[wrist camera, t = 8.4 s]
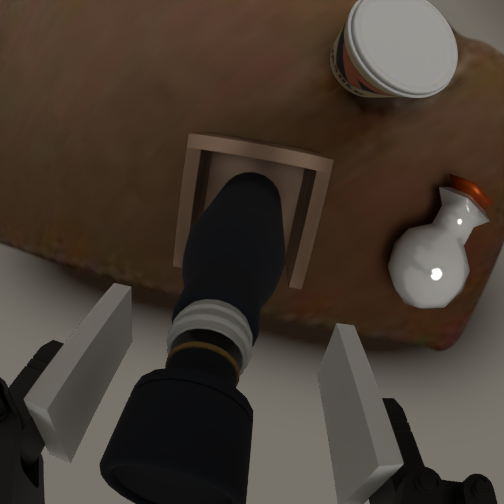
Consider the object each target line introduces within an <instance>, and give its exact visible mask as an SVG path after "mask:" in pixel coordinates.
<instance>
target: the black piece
mask: <svg viewBox="0 0 504 504" xmlns="http://www.w3.org/2000/svg"><path fill="white" fill-rule="evenodd" d="M284 265H285V240H284V229H283V218H282V207H281V198H280V195H279V191H278V189H277V187H276V186H275V184H274V183H273V182H272V181H271V180H270V179H268V178H267V177H266V176H264V175H261V174H258V173H255V172H244V173H241V174H238V175H235V176H234V177H233V178H231V179H230V180H228V182H227V183H226V184H225V185H224V187H223V188H222V189H221V190H220V192H219V193H218V194H217V196H216V197H215V198H214V200H213V201H212V202H211V203H210V205H209V206H208V207H207V209H206V210H205V211H204V213H203V214H202V215H201V217H200V218H199V219H198V221H197V222H196V224H195V225H194V226H193V228H192V229H191V231H190V232H189V235H188V239H187V243H186V247H185V251H184V255H183V262H182V268H183V279H184V289H183V291H182V293H181V295H180V297H179V299H178V301H177V303H176V305H175V308H174V311H173V315H172V327H171V329H170V330H169V333H168V337H167V346H168V348H167V352H168V358H167V361H166V366H165V367H166V368H165V369H157V370H154V371H152V372H150V373H148V374H146V375H144V376H142V377H141V378H140V380H139V381H138V382H137V383H136V385H135V386H134V388H133V390H132V393H131V395H130V397H129V399H128V401H127V403H126V406H125V408H124V410H123V412H122V414H121V417H120V419H119V421H118V423H117V426H116V428H115V430H114V432H113V434H112V436H111V439H110V441H109V443H108V446H107V448H106V450H105V452H104V455H103V457H102V459H101V462H100V471H101V475H102V477H103V478H104V480H105V481H106V482H107V483H108V485H109V486H110V487H111V488H113V489H114V490H115V491H117V492H118V493H119V494H120V495H122V496H123V497H125V498H127V499H128V500H130V501H132V502H134V503H135V504H246V496H247V485H248V473H249V462H250V451H251V439H252V427H253V410H252V408H251V406H250V404H249V402H248V400H247V398H246V397H245V396H244V395H243V394H242V393H241V392H240V391H239V390H237V389H236V386H237V384H238V382H239V376H240V375H241V374H242V373H243V371H244V369H245V368H246V367H247V365H248V363H249V361H250V359H251V348H252V347H253V346H254V343H255V341H256V339H257V337H258V333H259V321H260V309H261V308H262V307H263V305H264V304H265V303H266V302H267V301H268V299H269V298H270V297H271V296H272V294H273V292H274V290H275V288H276V286H277V283H278V281H279V278H280V276H281V274H282V271H283V268H284Z"/></svg>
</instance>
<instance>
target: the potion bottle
mask: <svg viewBox="0 0 504 504" xmlns="http://www.w3.org/2000/svg"><path fill="white" fill-rule="evenodd" d="M449 175H450V180H451V185H450V187H439V190H440V196H441V202H442V207H441V209H440V210H439V212H438V214H437V216H436V218H435V219H434V221H433V223H432V224H427V225H422V226H417V227H413V228H409V229H408V230H407V231H406V232H405V233H404V234H403V235H402V236H401V237H400V238H399V239H398V240H397V241H395V242H394V246H393V249H392V253H391V257H390V261H389V264H388V269H389V273H390V277H391V282H392V286H393V287H394V288H395V290H396V291H397V293H398V294H399V295H400V297H401V298H402V300H403V301H404V303H406V304H409V305H412V306H416V307H419V308H422V309H433V308H441V307H445V306H446V305H447V304H449V303H450V302H451V301H452V300H453V299H454V298H455V297H456V296H457V295H458V294H460V293H461V292H462V290H463V288H464V285H465V282H466V279H467V276H468V273H469V266H468V261H467V257H466V253H465V248H464V244H465V242H466V240H467V238H468V237H469V235H470V233H471V231H472V229H473V227H475V226H478V225H480V224H483V223H486V222H488V221H489V219H488V217H487V215H486V213H485V211H484V209H485V208H486V207H487V206H489V205H492V204H494V203H493V202H492V201H491V200H490V198H489V197H488V196H487V195H486V194H485V193H484V192H483V191H482V190H481V189H480V188H479V187H478V185H477V184H476V183H474V182H471V181H468V180H466V179H463V178H460V177H457V176H454V175H452V174H449Z"/></svg>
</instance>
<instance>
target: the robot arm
mask: <svg viewBox="0 0 504 504" xmlns="http://www.w3.org/2000/svg"><path fill="white" fill-rule="evenodd" d="M131 314H132V310H131V287H130V286H125V285H121V284H117V283H114V284H113V285H112V286H111V287H110V288H109V290H108V291H107V292H106V293H105V294H104V295H103V297H102V298H101V299H100V300H99V302H98V303H97V304H96V305H95V306H94V307H93V309H92V310H91V311H90V312H89V314H88V315H87V316H86V317H85V318H84V320H83V321H82V322H81V323H80V325H79V326H78V327H77V328H76V330H75V331H74V332H73V333H72V335H71V336H70V337H69V339H68V340H67V341H66V342H65V344H63V343H60V342H58V341H54V340H52V341H50V342H49V343H47V344H45V345H43V346H42V347H41V348H40V349H39V350H38V351H37V353H36V354H35V355H34V356H33V359H31V360H30V361H29V363H28V364H27V366H25V368H24V369H23V370H22V371H21V372H20V374H19V375H18V376H17V378H16V379H15V380H14V381H13V383H12V384H11V385H10V387H9V388H8V386H7V384H6V383H5V381H4V380H3V379H1V378H0V504H45V501H44V479H43V478H44V477H43V476H44V475H43V458H42V455H41V452H42V450H43V448H44V446H46V448H47V449H48V451H49V453H50V454H51V455H53V456H55V457H58V458H60V459H62V460H65V461H67V462H69V463H71V461H72V459H73V457H74V455H75V453H76V451H77V449H78V446H79V444H80V442H81V440H82V438H83V436H84V434H85V432H86V429H87V428H88V426H89V424H90V422H91V419H92V417H93V415H94V413H95V411H96V409H97V407H98V405H99V404H100V402H101V400H102V398H103V396H104V394H105V392H106V390H107V388H108V386H109V384H110V382H111V380H112V378H113V376H114V374H115V373H116V371H117V369H118V367H119V365H120V363H121V361H122V359H123V358H124V356H125V354H126V352H127V350H128V348H129V346H130V345H131V343H132V315H131ZM317 376H318V382H319V388H320V393H321V399H322V404H323V410H324V416H325V422H326V428H327V434H328V441H329V447H330V453H331V460H332V466H333V473H334V480H335V487H336V494H337V501H338V504H364V503H365V502H366V501H367V500H368V499H369V502H370V504H497V500H496V496H495V492H494V488H493V486H492V483H491V481H490V480H489V479H488V478H487V477H485V476H483V475H481V474H472V475H470V476H469V477H468V478H467V479H465V480H464V481H463V482H455V481H446V480H441V478H440V476H439V475H438V474H437V473H436V472H435V471H434V470H432V469H430V468H427V467H425V466H424V464H423V461H422V458H421V455H420V453H419V450H418V447H417V444H416V442H415V439H414V437H413V434H412V432H411V431H410V430H411V429H410V426H409V423H407V418H406V416H405V413H404V411H403V408H402V407H401V406H400V405H399V404H398V403H397V402H396V400H395V399H394V398H382V397H381V395H380V392H379V389H378V387H377V384H376V381H375V378H374V376H373V373H372V370H371V368H370V365H369V362H368V360H367V357H366V354H365V352H364V349H363V347H362V345H361V342H360V339H359V337H358V334H357V332H356V329H355V327H354V326H353V325H346V324H338V323H337V324H336V326H335V329H334V332H333V334H332V337H331V340H330V342H329V345H328V348H327V350H326V353H325V355H324V358H323V360H322V363H321V365H320V368H319V370H318V372H317Z"/></svg>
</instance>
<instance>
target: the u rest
mask: <svg viewBox="0 0 504 504" xmlns="http://www.w3.org/2000/svg"><path fill="white" fill-rule="evenodd" d="M333 162H334V160H333V159H331V158H329V157H327V156H324V155H322V154H320V153H317V152H312V151H308V150H303V149H299V148H294V147H289V146H284V145H279V144H274V143H269V142H263V141H258V140H252V139H247V138H241V137H235V136H228V135H222V134H215V133H208V132H199V133H189V137H188V143H187V150H186V157H185V164H184V171H183V178H182V186H181V194H180V202H179V210H178V219H177V229H176V238H175V249H174V260H173V266H174V267H180V268H182V262H183V255H184V251H185V247H186V243H187V239H188V235H189V232H190V231H191V229H192V228H193V226H194V225H195V224H196V222H197V221H198V219H199V218H200V217H201V215H202V214H203V213H204V211H205V210H206V209H207V207H208V206H209V205H210V203H211V202H212V201H213V200H214V198H215V197H216V196H217V194H218V193H219V192H220V190H221V189H222V188H223V187H224V185H225V184H226V183H227V182H228V180H230V179H231V178H233V177H234V176H235V175H238V174H241V173H244V172H255V173H258V174H261V175H264V176H266V177H267V178H268V179H270V180H271V181H272V182H273V183H274V184H275V186H276V187H277V189H278V191H279V195H280V198H281V207H282V218H283V229H284V240H285V264H286V270H287V277H288V284H289V287H291V288H297V289H302V286H303V282H304V279H305V275H306V271H307V268H308V264H309V260H310V256H311V253H312V249H313V245H314V241H315V237H316V233H317V229H318V225H319V221H320V217H321V213H322V209H323V205H324V201H325V197H326V192H327V188H328V184H329V179H330V175H331V171H332V166H333Z"/></svg>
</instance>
